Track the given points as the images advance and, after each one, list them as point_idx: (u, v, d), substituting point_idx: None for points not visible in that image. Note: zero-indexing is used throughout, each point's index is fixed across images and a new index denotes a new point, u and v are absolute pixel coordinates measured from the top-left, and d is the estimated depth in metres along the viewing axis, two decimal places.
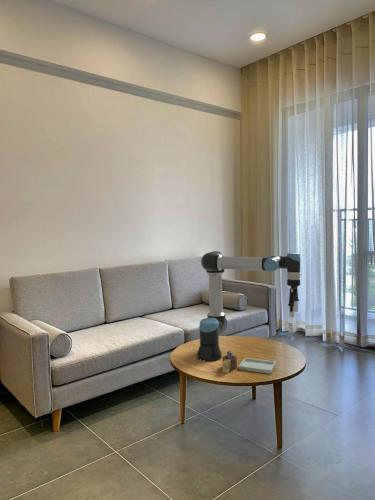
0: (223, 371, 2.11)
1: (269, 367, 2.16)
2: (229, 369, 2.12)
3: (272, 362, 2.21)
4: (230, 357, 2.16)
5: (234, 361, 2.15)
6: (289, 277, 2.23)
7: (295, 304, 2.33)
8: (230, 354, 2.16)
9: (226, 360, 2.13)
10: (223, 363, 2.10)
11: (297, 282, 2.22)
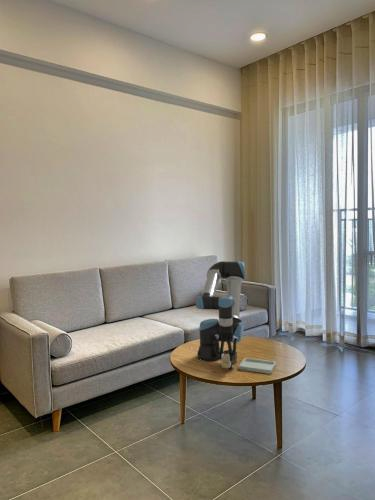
0: (223, 366, 2.11)
1: (269, 367, 2.16)
2: None
3: (272, 362, 2.21)
4: None
5: (234, 356, 2.15)
6: None
7: None
8: None
9: (226, 355, 2.13)
10: (223, 358, 2.10)
11: (219, 328, 2.09)
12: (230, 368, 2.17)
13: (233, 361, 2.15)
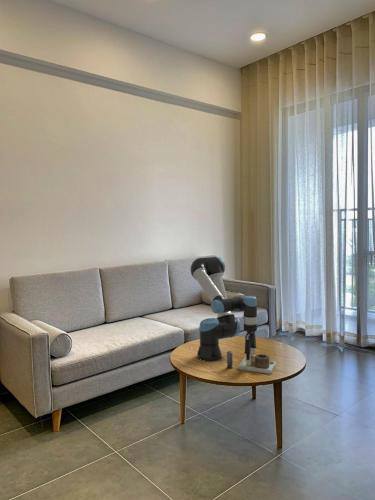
0: None
1: (269, 367, 2.16)
2: (251, 364, 2.18)
3: (272, 362, 2.21)
4: (230, 357, 2.16)
5: (257, 360, 2.15)
6: None
7: None
8: (230, 354, 2.16)
9: (252, 355, 2.19)
10: None
11: None
12: (230, 368, 2.17)
13: (256, 364, 2.15)
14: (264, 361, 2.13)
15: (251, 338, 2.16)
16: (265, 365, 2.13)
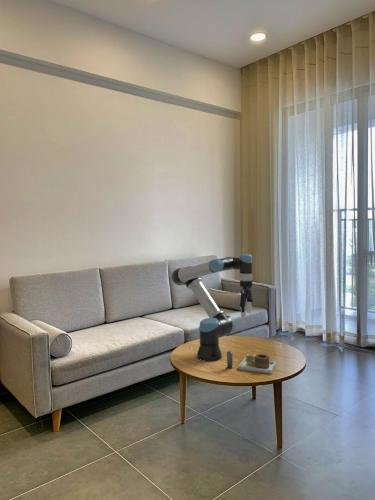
0: None
1: (269, 367, 2.16)
2: (251, 364, 2.18)
3: (272, 362, 2.21)
4: (230, 357, 2.16)
5: (257, 360, 2.15)
6: None
7: None
8: (230, 354, 2.16)
9: (252, 355, 2.19)
10: None
11: None
12: (230, 368, 2.17)
13: (256, 364, 2.15)
14: (264, 361, 2.13)
15: (247, 293, 2.27)
16: (265, 365, 2.13)
